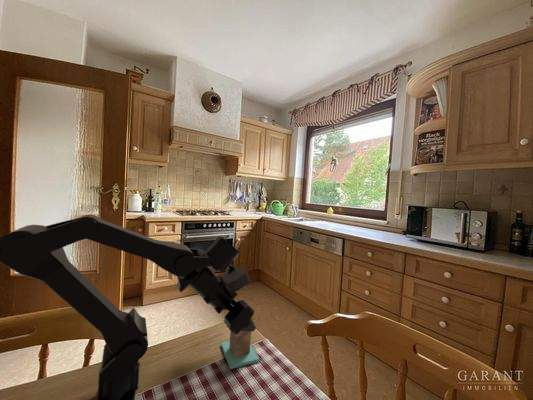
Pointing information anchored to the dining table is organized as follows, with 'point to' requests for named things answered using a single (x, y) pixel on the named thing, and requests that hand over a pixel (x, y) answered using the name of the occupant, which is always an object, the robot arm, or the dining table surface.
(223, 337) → the dining table surface
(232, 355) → the mat
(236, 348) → the walnut block
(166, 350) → the dining table surface
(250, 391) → the dining table surface
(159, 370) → the dining table surface
